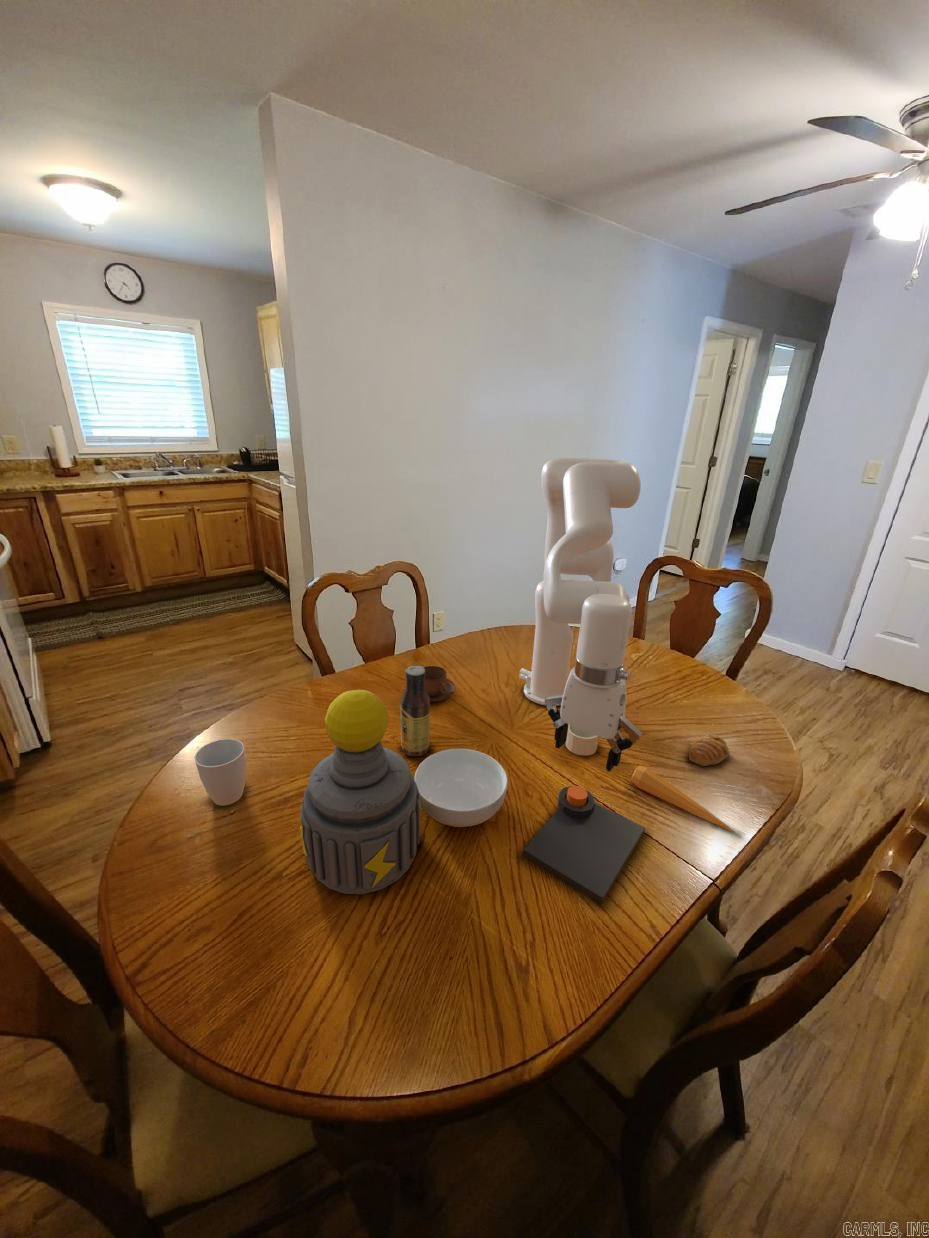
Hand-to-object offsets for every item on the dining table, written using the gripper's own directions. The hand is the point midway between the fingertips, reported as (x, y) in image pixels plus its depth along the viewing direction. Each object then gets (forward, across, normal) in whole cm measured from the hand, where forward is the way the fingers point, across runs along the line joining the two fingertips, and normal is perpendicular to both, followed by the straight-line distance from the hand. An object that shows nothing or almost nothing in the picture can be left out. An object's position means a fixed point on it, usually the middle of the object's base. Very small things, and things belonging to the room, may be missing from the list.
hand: (585, 755), depth 88 cm
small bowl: (+12, +8, -19) cm, 24 cm away
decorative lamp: (+13, +24, +31) cm, 41 cm away
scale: (+13, -5, +6) cm, 15 cm away
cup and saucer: (+12, +48, -14) cm, 52 cm away
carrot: (+13, -15, -14) cm, 24 cm away
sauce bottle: (+13, +35, +6) cm, 38 cm away
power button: (+10, 0, 0) cm, 10 cm away
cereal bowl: (+13, +17, +13) cm, 25 cm away
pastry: (+13, -15, -34) cm, 39 cm away
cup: (+13, +53, +39) cm, 67 cm away
